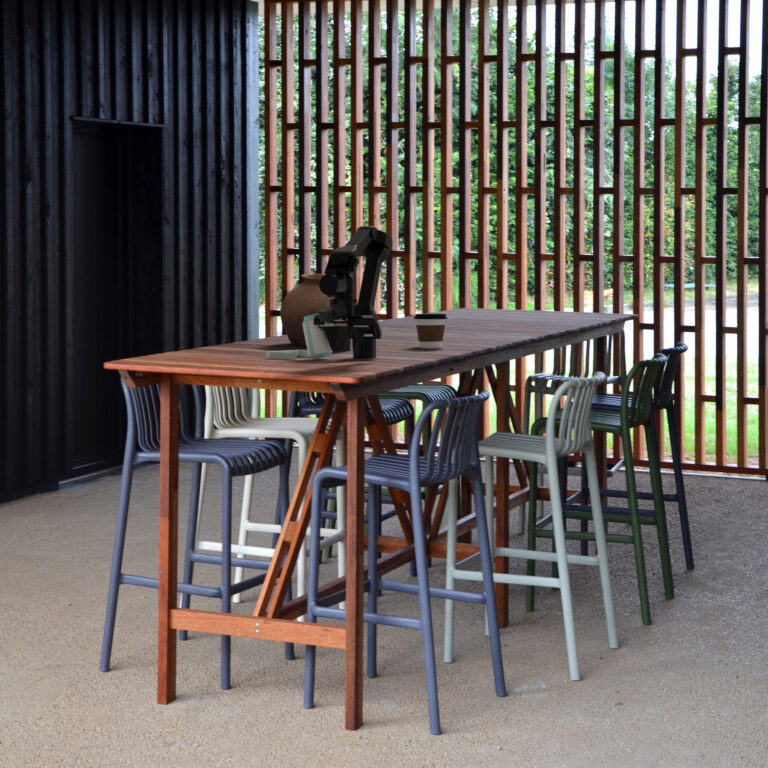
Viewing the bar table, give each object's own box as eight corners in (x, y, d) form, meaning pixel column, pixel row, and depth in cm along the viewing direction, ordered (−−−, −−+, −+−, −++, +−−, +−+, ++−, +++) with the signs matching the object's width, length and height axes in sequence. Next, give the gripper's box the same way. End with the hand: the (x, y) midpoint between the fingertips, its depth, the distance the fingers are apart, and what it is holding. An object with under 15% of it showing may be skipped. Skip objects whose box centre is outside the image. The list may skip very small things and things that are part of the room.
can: (320, 358, 366) (313, 318, 367) (338, 353, 362) (330, 312, 363) (303, 359, 361) (296, 318, 362) (321, 354, 356) (313, 313, 357)
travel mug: (321, 353, 396) (321, 289, 394) (341, 352, 401) (340, 289, 399) (336, 354, 390) (336, 289, 388) (356, 353, 395) (356, 289, 393)
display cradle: (298, 356, 377) (298, 349, 377) (323, 357, 370) (323, 351, 370) (266, 358, 367) (266, 351, 367) (291, 359, 360) (291, 352, 360)
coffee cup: (444, 352, 402) (444, 314, 401) (410, 351, 404) (410, 314, 403) (449, 350, 412) (449, 313, 411) (416, 350, 415) (416, 313, 414)
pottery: (309, 348, 428) (308, 274, 426) (365, 350, 415) (365, 273, 413) (266, 351, 409) (265, 273, 408) (323, 353, 396) (322, 273, 395)
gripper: (299, 295, 354) (299, 351, 355) (348, 295, 342) (348, 353, 343) (327, 295, 362) (327, 350, 363) (376, 295, 350) (376, 351, 351)
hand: (343, 351), depth 355 cm, fingers open, 8 cm apart
